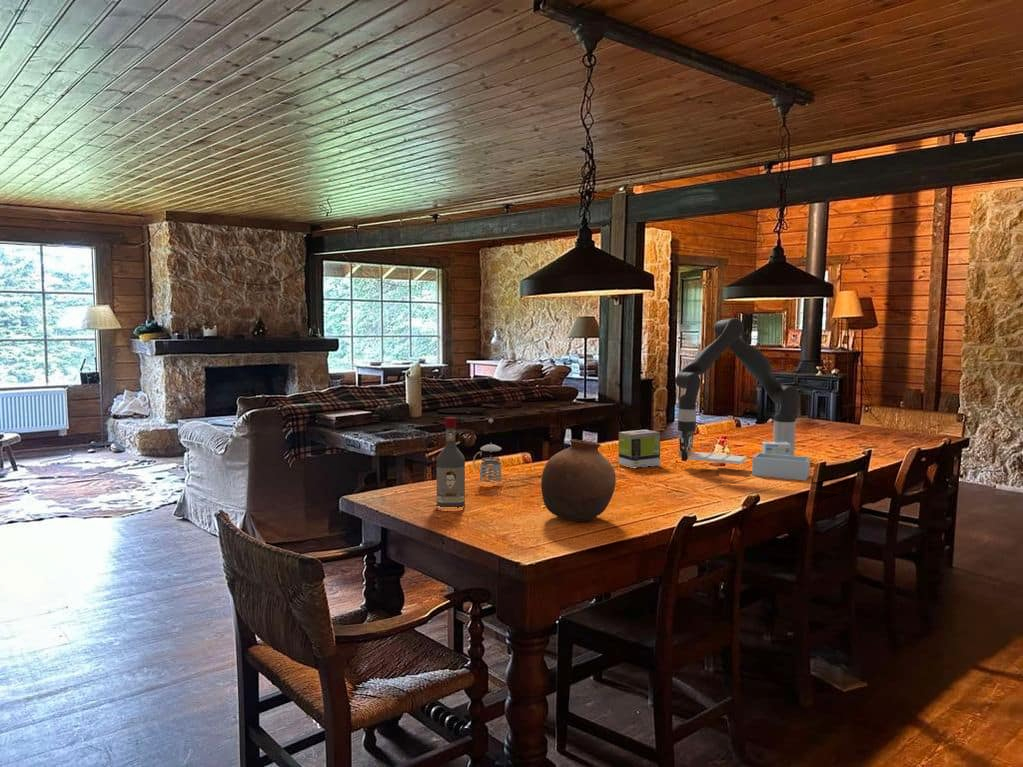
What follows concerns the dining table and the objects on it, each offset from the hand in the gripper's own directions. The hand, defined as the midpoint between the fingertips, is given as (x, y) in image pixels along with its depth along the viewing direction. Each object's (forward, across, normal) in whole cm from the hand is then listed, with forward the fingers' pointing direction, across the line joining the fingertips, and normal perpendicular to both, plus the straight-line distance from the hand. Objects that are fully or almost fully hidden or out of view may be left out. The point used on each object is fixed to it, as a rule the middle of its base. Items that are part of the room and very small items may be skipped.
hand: (685, 459), depth 313 cm
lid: (-1, 0, +10) cm, 11 cm away
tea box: (+4, +4, -19) cm, 20 cm away
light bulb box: (+4, -20, +33) cm, 39 cm away
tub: (+3, 0, +38) cm, 38 cm away
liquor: (+4, +104, -50) cm, 116 cm away
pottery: (+4, +96, -8) cm, 97 cm away
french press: (+4, +68, -57) cm, 88 cm away
